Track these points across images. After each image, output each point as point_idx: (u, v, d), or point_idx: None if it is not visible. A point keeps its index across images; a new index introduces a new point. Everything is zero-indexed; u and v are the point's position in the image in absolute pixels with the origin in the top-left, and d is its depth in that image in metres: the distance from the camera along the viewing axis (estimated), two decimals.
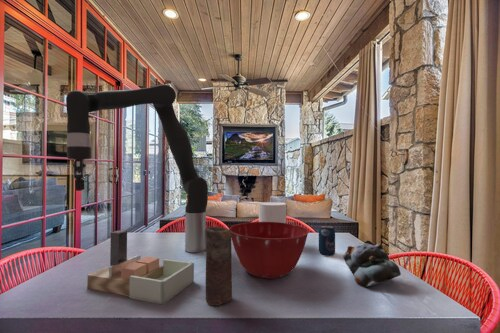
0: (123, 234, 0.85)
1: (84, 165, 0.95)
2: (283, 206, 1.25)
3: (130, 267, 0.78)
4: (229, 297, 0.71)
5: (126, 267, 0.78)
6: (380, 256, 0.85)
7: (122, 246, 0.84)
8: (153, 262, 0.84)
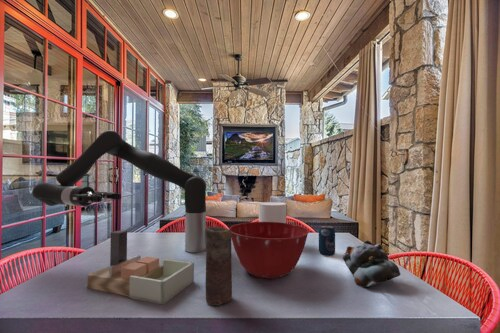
0: (123, 234, 0.85)
1: (87, 192, 0.96)
2: (283, 206, 1.25)
3: (130, 267, 0.78)
4: (229, 297, 0.71)
5: (126, 267, 0.78)
6: (380, 256, 0.85)
7: (122, 246, 0.84)
8: (153, 262, 0.84)
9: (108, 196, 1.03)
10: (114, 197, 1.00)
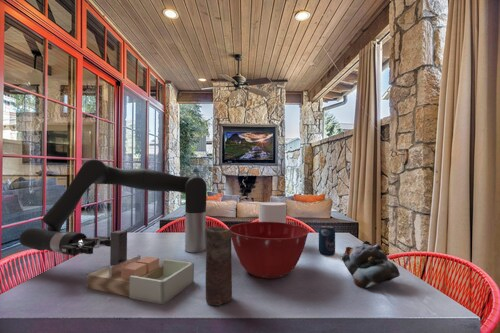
0: (123, 234, 0.85)
1: (78, 241, 0.88)
2: (283, 206, 1.25)
3: (130, 267, 0.78)
4: (229, 297, 0.71)
5: (126, 267, 0.78)
6: (379, 257, 0.85)
7: (122, 246, 0.84)
8: (153, 262, 0.84)
9: (101, 241, 0.95)
10: (107, 244, 0.92)
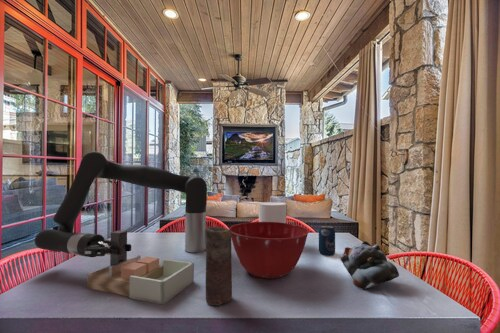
0: (123, 234, 0.85)
1: (97, 243, 0.86)
2: (283, 206, 1.25)
3: (130, 267, 0.78)
4: (229, 297, 0.71)
5: (126, 267, 0.78)
6: (378, 257, 0.84)
7: (122, 246, 0.84)
8: (153, 262, 0.84)
9: None
10: None
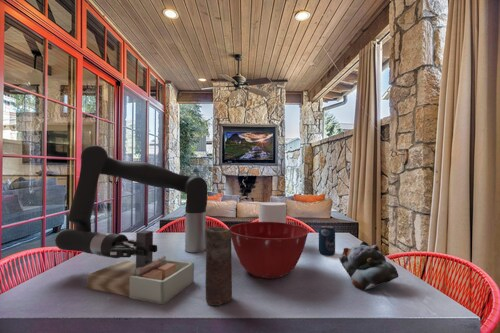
0: (149, 234, 0.81)
1: (122, 243, 0.82)
2: (283, 206, 1.25)
3: None
4: (229, 297, 0.71)
5: None
6: (377, 257, 0.84)
7: (148, 247, 0.81)
8: None
9: None
10: None
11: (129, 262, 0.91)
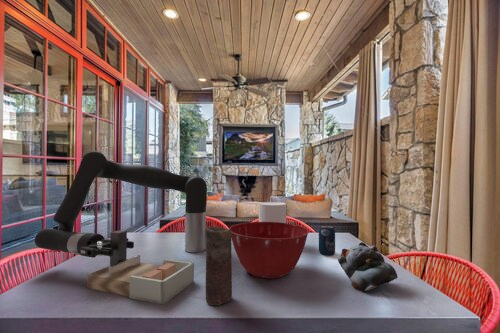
0: (123, 234, 0.85)
1: (97, 242, 0.86)
2: (283, 206, 1.25)
3: None
4: (229, 297, 0.71)
5: None
6: (376, 258, 0.83)
7: (122, 246, 0.84)
8: None
9: None
10: None
11: None
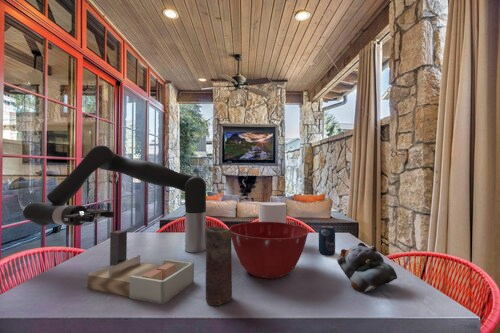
0: (123, 234, 0.85)
1: (79, 212, 0.94)
2: (283, 206, 1.25)
3: None
4: (229, 297, 0.71)
5: None
6: (375, 259, 0.83)
7: (122, 246, 0.84)
8: None
9: (101, 214, 1.01)
10: (107, 215, 0.97)
11: None
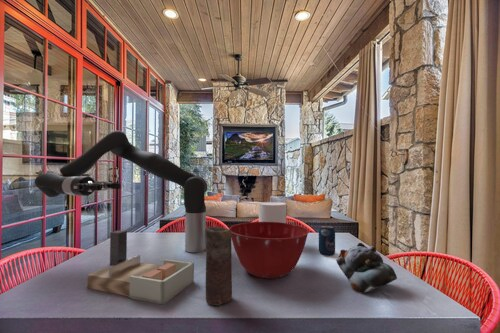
0: (123, 234, 0.85)
1: (88, 182, 0.98)
2: (283, 206, 1.25)
3: None
4: (229, 297, 0.71)
5: None
6: (375, 259, 0.82)
7: (122, 246, 0.84)
8: None
9: (108, 186, 1.05)
10: (114, 187, 1.01)
11: None
